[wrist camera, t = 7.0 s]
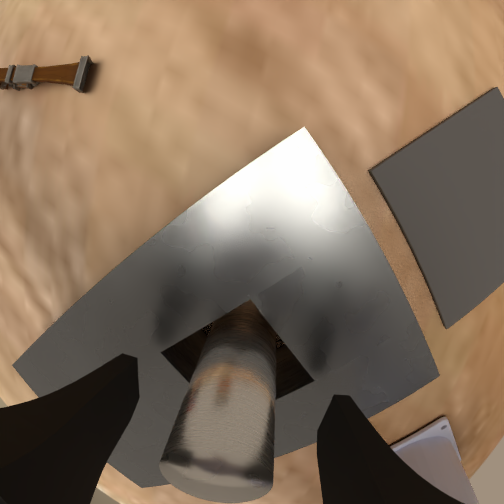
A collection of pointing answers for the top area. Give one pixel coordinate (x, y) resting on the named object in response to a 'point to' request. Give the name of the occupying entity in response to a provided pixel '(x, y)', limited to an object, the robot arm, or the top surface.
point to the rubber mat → (453, 204)
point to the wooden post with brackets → (46, 75)
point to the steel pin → (227, 414)
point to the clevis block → (239, 291)
